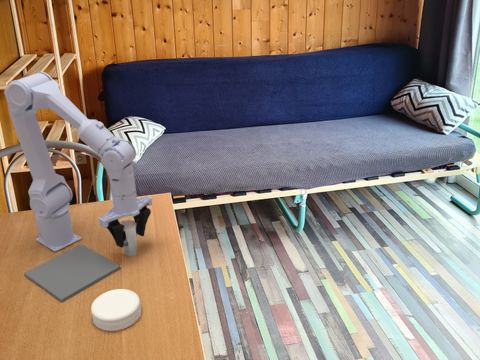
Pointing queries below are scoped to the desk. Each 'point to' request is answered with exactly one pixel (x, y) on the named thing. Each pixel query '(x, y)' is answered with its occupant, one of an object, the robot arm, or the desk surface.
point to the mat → (72, 272)
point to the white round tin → (116, 310)
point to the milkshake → (129, 237)
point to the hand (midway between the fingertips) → (130, 240)
